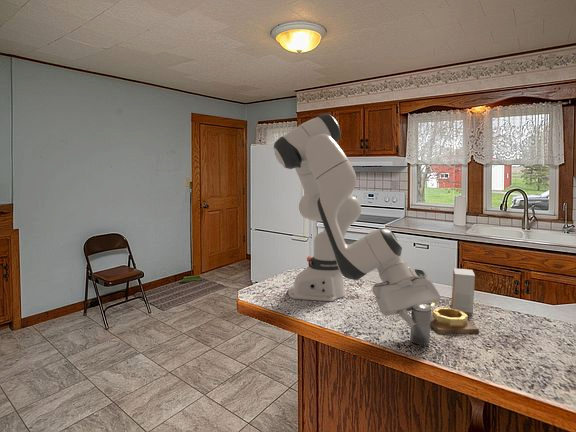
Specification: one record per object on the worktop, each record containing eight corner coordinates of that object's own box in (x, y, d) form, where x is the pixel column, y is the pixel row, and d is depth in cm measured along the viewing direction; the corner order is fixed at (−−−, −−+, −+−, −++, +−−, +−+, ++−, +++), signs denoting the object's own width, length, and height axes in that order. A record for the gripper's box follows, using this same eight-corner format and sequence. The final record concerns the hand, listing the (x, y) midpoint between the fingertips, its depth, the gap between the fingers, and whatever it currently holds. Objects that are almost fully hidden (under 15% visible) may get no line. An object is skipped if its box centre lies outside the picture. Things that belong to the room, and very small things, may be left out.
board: (438, 333, 106) (438, 329, 105) (422, 317, 117) (422, 313, 117) (478, 333, 106) (479, 329, 106) (458, 316, 118) (459, 313, 118)
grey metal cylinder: (414, 344, 97) (415, 310, 96) (407, 336, 102) (409, 303, 101) (432, 344, 97) (434, 309, 96) (425, 335, 102) (426, 303, 101)
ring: (441, 327, 107) (441, 319, 107) (428, 315, 116) (428, 307, 116) (471, 327, 107) (472, 319, 107) (456, 315, 116) (457, 307, 116)
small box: (451, 302, 131) (453, 267, 129) (470, 305, 128) (473, 269, 127) (452, 310, 123) (454, 273, 122) (473, 313, 121) (475, 275, 119)
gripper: (375, 278, 99) (399, 326, 92) (429, 269, 108) (455, 312, 101) (364, 289, 104) (387, 335, 96) (417, 280, 113) (441, 321, 105)
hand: (422, 323), depth 98 cm, fingers closed on grey metal cylinder, 5 cm apart
